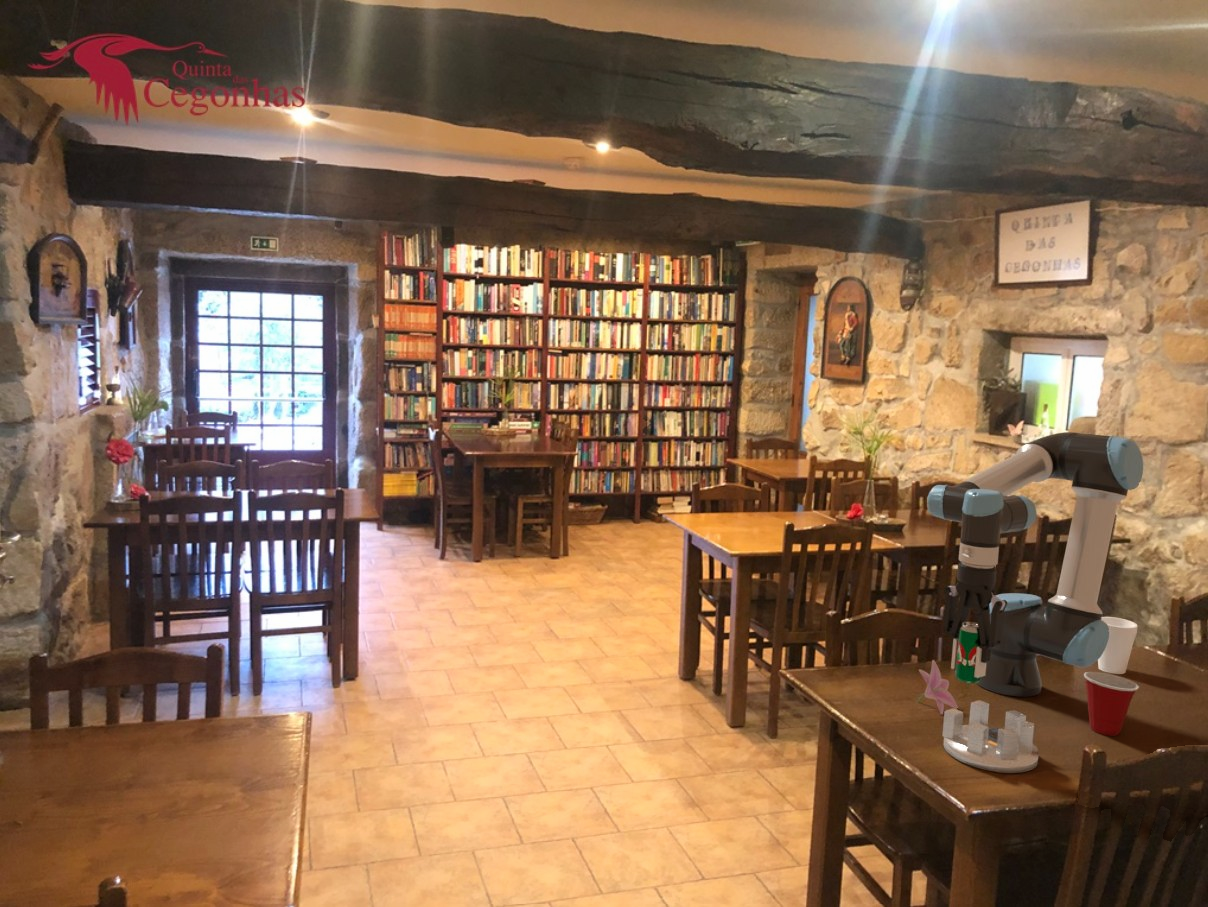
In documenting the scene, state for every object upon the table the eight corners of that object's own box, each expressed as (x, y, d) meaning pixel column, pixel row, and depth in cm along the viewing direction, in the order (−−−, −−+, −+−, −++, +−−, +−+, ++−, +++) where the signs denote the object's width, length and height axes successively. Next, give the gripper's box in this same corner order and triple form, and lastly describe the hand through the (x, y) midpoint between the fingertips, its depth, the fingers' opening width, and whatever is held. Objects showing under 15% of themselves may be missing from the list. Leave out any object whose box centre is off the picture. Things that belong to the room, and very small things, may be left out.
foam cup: (1139, 677, 237) (1144, 628, 235) (1103, 675, 237) (1108, 627, 235) (1119, 664, 246) (1124, 617, 245) (1085, 662, 246) (1089, 616, 245)
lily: (913, 720, 207) (938, 690, 203) (890, 683, 217) (913, 654, 213) (953, 730, 211) (977, 701, 208) (928, 693, 221) (951, 664, 218)
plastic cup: (1145, 738, 199) (1151, 685, 197) (1105, 743, 196) (1111, 689, 194) (1105, 718, 209) (1110, 668, 208) (1067, 722, 206) (1072, 671, 205)
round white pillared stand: (977, 727, 201) (980, 694, 200) (1055, 759, 186) (1059, 724, 185) (925, 744, 191) (928, 710, 190) (1003, 781, 176) (1007, 744, 175)
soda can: (983, 679, 193) (988, 624, 191) (977, 686, 189) (982, 630, 187) (958, 673, 196) (963, 619, 194) (952, 680, 192) (956, 625, 190)
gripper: (929, 556, 194) (920, 661, 197) (1006, 576, 180) (995, 689, 183) (951, 553, 199) (942, 656, 201) (1028, 572, 184) (1017, 682, 187)
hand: (967, 671), depth 192 cm, fingers closed on soda can, 5 cm apart
